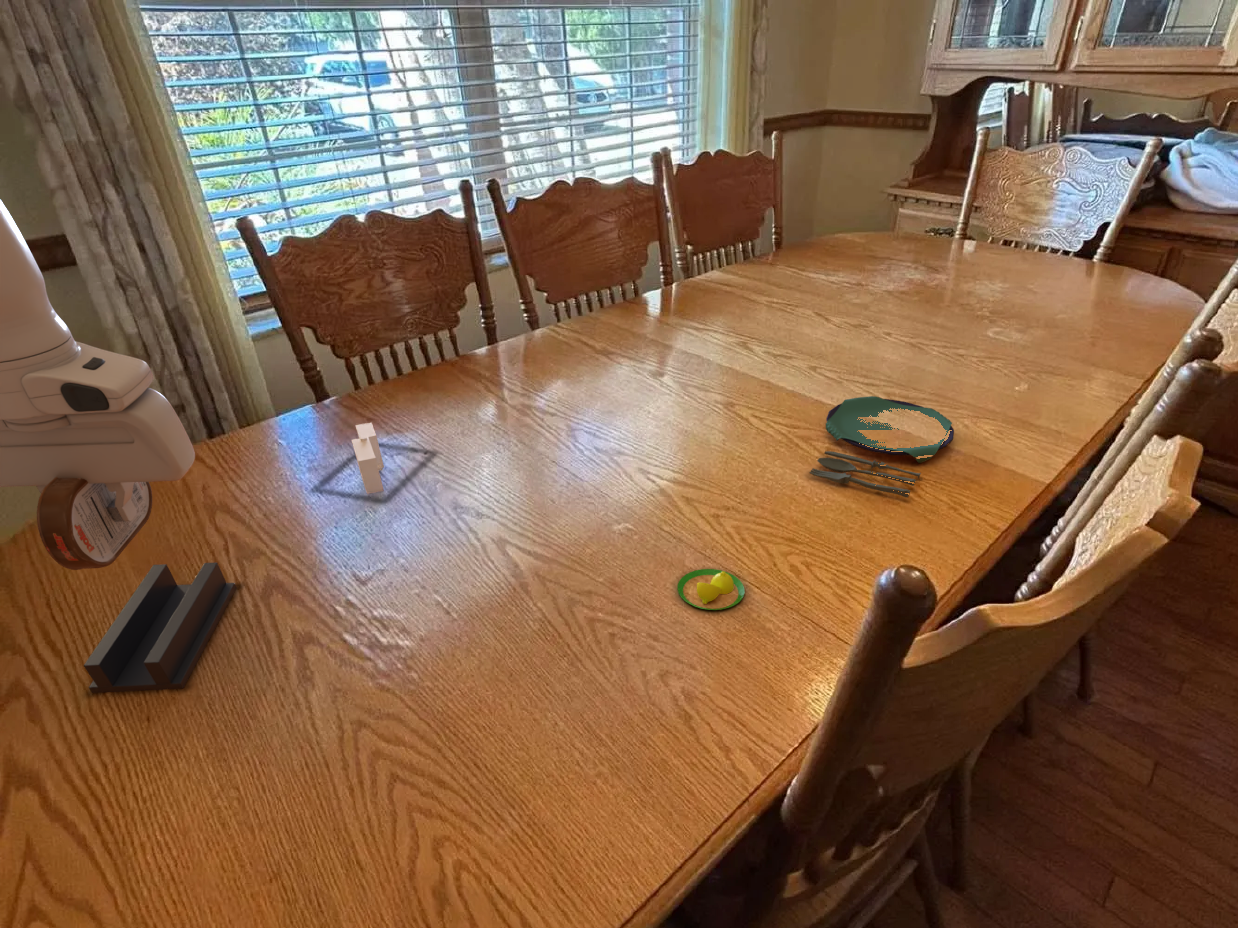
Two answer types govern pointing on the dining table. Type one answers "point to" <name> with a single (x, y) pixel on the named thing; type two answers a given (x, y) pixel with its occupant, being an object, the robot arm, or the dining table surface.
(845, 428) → the cutlery set
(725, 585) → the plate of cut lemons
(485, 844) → the dining table surface
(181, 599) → the holder
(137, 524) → the tin
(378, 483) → the beige double block
